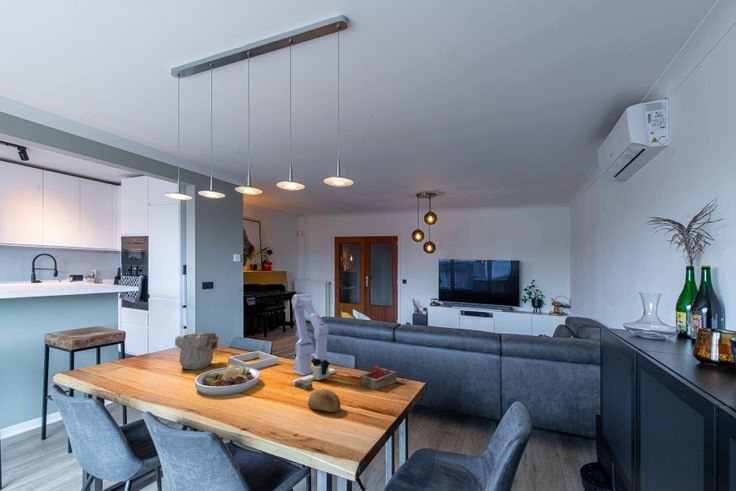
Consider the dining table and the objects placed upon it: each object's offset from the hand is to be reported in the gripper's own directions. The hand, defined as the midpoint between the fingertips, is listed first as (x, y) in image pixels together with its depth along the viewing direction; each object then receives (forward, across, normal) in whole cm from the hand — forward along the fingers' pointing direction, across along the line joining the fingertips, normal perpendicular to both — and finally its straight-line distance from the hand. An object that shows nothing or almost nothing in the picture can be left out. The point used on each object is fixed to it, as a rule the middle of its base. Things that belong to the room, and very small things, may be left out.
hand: (320, 373), depth 175 cm
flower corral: (+3, -51, -8) cm, 52 cm away
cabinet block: (+2, 0, 0) cm, 2 cm away
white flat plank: (+3, -5, 0) cm, 6 cm away
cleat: (+3, +2, -13) cm, 13 cm away
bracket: (+4, +26, +16) cm, 31 cm away
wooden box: (+3, +27, +16) cm, 31 cm away
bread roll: (+4, +28, -24) cm, 37 cm away
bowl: (+4, -28, -36) cm, 46 cm away
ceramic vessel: (+3, -72, -31) cm, 79 cm away
